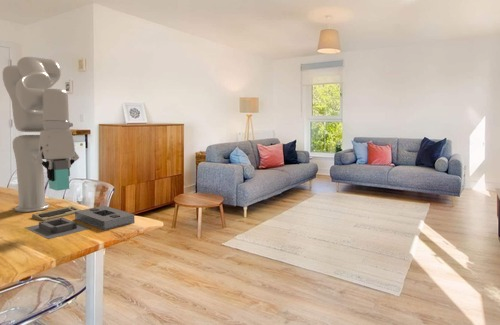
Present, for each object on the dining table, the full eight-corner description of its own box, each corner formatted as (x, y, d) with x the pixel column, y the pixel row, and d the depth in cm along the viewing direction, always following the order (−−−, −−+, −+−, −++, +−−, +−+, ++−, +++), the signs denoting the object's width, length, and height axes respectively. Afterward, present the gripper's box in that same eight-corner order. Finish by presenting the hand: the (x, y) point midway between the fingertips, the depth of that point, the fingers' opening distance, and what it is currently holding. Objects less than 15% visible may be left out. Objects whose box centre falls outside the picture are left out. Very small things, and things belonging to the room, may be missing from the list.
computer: (43, 225, 125) (42, 216, 125) (31, 221, 129) (31, 213, 129) (83, 215, 138) (82, 207, 138) (71, 212, 143) (71, 204, 142)
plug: (49, 188, 117) (47, 159, 115) (61, 186, 120) (59, 158, 119) (57, 190, 113) (55, 161, 112) (69, 188, 116) (68, 160, 115)
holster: (24, 230, 117) (24, 222, 117) (65, 221, 129) (65, 213, 128) (48, 242, 107) (48, 233, 106) (91, 231, 118) (91, 222, 118)
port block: (75, 221, 128) (74, 211, 128) (104, 215, 138) (104, 205, 138) (104, 232, 117) (104, 221, 116) (134, 224, 127) (134, 213, 126)
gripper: (75, 126, 123) (77, 175, 125) (24, 125, 109) (27, 181, 112) (86, 126, 118) (88, 178, 121) (33, 126, 105) (36, 184, 107)
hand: (58, 179), depth 116 cm, fingers closed on plug, 4 cm apart
